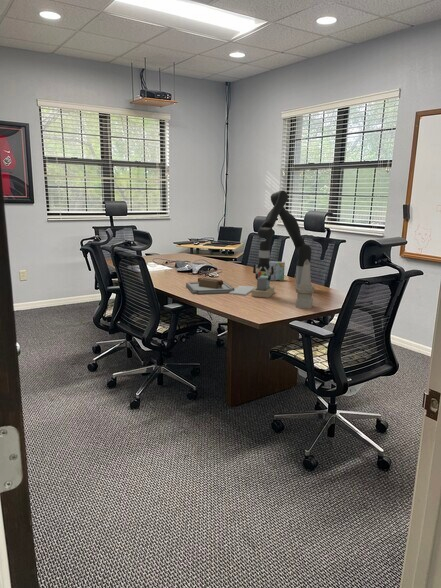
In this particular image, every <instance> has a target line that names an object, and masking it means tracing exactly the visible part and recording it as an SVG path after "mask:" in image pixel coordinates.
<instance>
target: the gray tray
mask: <svg viewBox="0 0 441 588" xmlns="http://www.w3.org/2000/svg"><path fill="white" fill-rule="evenodd" d="M185 286H186V288H187V290H189V291H190V293H192V295H194V294H195V295H211V294H212V295H214V294H219V295H220V294H229V292H232V291H234V289H235V288H234V287H233V286H232V285H230V284H229V283H228V282H226V281H223V280H222V279H218V278H217V279H215V278H209V277H203V278H202V277H198V278H197V281H189V282H186V283H185Z"/></svg>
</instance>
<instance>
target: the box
mask: <svg viewBox="0 0 441 588" xmlns="http://www.w3.org/2000/svg"><path fill="white" fill-rule="evenodd" d="M270 286H271V280H270V281H268V276H260V277H259V278H257V280H256V287H257V290H258V291H266V290H267V289H268V288H269V287H270Z"/></svg>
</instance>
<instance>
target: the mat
mask: <svg viewBox="0 0 441 588" xmlns="http://www.w3.org/2000/svg"><path fill="white" fill-rule="evenodd" d="M255 287H256V286H251V285H250V286H249V285H239V286H237V287H235V288H234V291H232V292H229V293H228V294H229V295H237V296H247V295H249V294H250V293H251V292H252V290H253V289H254V288H255Z"/></svg>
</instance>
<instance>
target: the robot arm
mask: <svg viewBox="0 0 441 588" xmlns="http://www.w3.org/2000/svg"><path fill="white" fill-rule="evenodd" d="M288 197H289V195H288V193H287V191H285V190H278V191H277V192H273V193H272V194H271V195H270V201H271V205H273V207H272V208H271V210H270V211H269V212H268V213H267V215H266V217H265V219H264V221H263V223H262V224H261V225H260V226H259V228H258V229H257V236H258V237H259V238H261V239H266V240H263V241H260V242H259V249H258V250H259V251H258V261H259V262H258V261H257V262H258V264H254V265H253V269H252V273H253V274H255V280H256V281H257V278H258V273H259V272H260V271H264V272H267V273H268V275H269V276H268V281H270V282H271V281H272V280H271V275H273V274H274V266H270V265H269V262H270V261H271V257H270V256H271V252H270V251H271V244H272V240H273V236H274V229H273V228H274V226H275V224H276V222H277V219H278V217H280V219H281V221H282V223H283V225H284V227H285V229H286V232H287V233H288V235H289V237H290V239H291V241H292V242H293V245H294V248H295V251H296V253H297V256H298V259H297V261H296V268H295V271H296V272H295V285H294V286H295V287H294V288H295V289H296V288H297V286H298V285H300V282H301V277H302V272H303V266H304V262H305V261H306V260H307V259H308V261H309V262H310V263H311V259H312V247H311V246H310V245H309V244H307V243H306V242H305V240H304V239H303V236H302V234H301V229H300V225H299V222H298V221H297V219H296V217H295V216H294V215H292V213H290V212H289V211H288V210H287V209H286V208H285V205H286V204H287V202H288V199H289V198H288ZM258 268H259V269H258ZM269 268H270V269H271V273H270V271H269ZM256 270H257V271H256Z"/></svg>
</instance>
